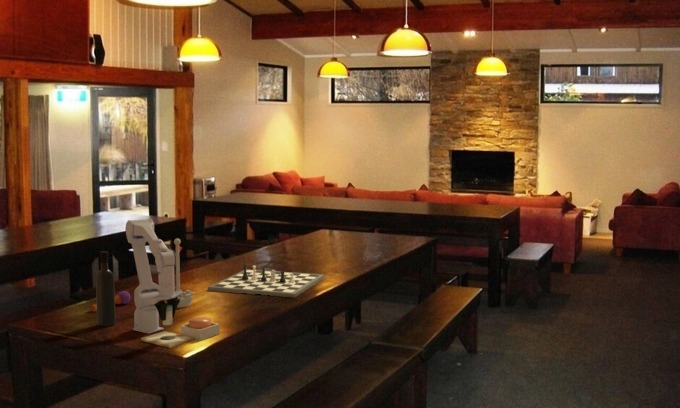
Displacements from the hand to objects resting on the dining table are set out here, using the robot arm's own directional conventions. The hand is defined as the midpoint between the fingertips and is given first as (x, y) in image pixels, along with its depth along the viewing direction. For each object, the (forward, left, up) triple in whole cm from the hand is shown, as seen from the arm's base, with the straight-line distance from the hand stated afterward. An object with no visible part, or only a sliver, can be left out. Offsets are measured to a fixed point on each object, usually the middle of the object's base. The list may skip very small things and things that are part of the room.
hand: (167, 318), depth 277 cm
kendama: (-58, +20, -9) cm, 62 cm away
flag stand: (-37, +40, -8) cm, 55 cm away
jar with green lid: (0, 0, -2) cm, 2 cm away
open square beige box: (+5, +12, -8) cm, 15 cm away
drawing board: (0, 0, -8) cm, 8 cm away
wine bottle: (-36, 0, -8) cm, 37 cm away
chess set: (-31, +95, -9) cm, 100 cm away
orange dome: (+5, +12, -6) cm, 14 cm away
